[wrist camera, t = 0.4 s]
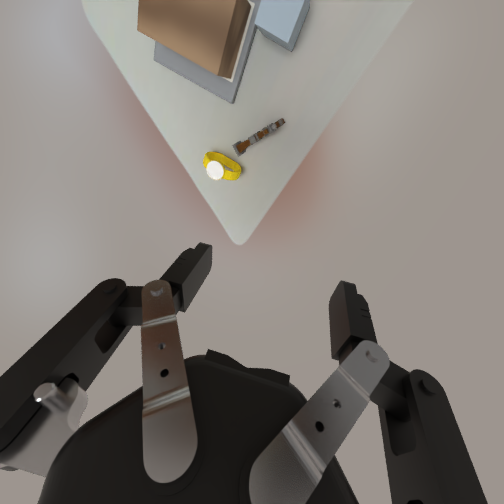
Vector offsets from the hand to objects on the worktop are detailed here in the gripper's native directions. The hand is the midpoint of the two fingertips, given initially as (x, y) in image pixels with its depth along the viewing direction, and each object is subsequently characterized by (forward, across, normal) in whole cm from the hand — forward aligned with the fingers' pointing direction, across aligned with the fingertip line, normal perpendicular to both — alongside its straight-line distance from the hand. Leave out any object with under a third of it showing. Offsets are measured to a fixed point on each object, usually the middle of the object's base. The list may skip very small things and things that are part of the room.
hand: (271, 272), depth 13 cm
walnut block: (+25, +16, -14) cm, 33 cm away
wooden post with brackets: (+26, +7, -3) cm, 28 cm away
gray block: (+26, +6, -15) cm, 31 cm away
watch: (+26, +12, +2) cm, 29 cm away
